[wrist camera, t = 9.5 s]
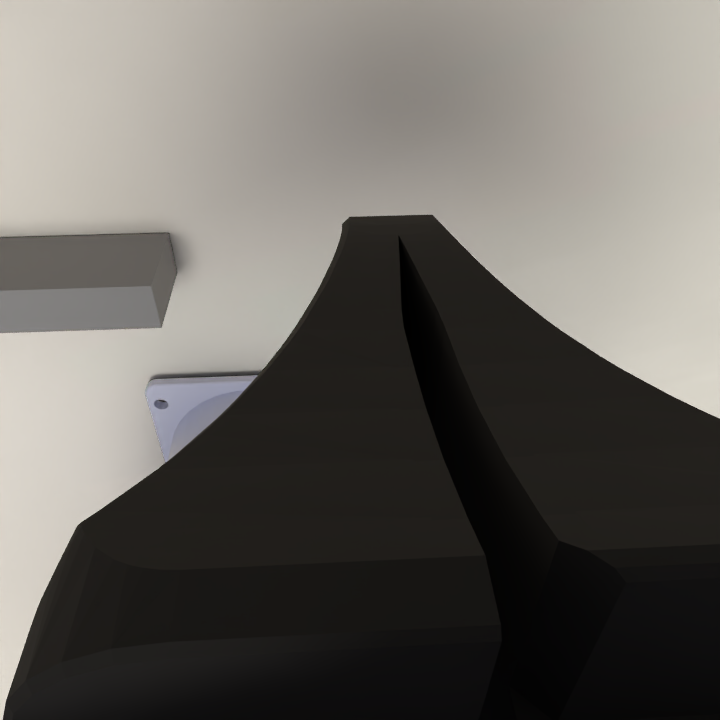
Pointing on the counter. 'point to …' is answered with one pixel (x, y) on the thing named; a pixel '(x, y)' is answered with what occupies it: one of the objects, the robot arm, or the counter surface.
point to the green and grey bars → (85, 282)
